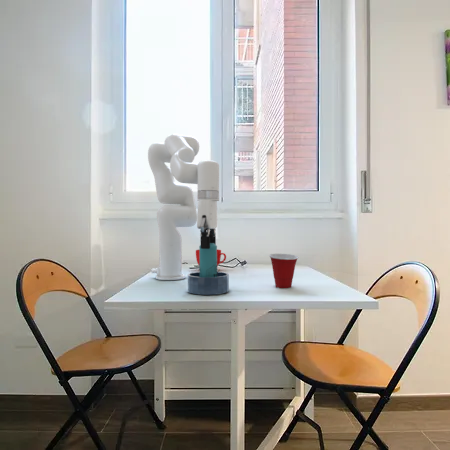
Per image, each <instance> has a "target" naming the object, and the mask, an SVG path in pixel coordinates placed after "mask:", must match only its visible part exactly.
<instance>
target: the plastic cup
mask: <svg viewBox="0 0 450 450" xmlns="http://www.w3.org/2000/svg"><path fill="white" fill-rule="evenodd" d="M268 256H269V258H270V261H271V265H272V274H273V278H274V284H275V285H274V286H275V288H279V289H290V288H292V286H293V285H292V284H293V279H294V274H295V269H296V264H297V261H298V259H299V255H295V254H291V253H271V254H269V255H268Z"/></svg>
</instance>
